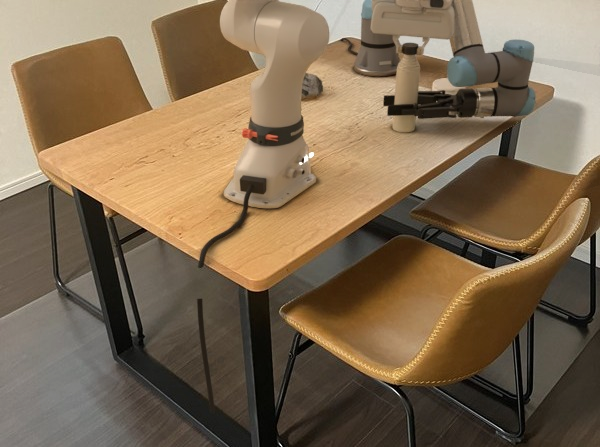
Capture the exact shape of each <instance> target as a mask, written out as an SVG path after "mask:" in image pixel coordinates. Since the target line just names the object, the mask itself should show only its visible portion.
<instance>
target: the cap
mask: <svg viewBox="0 0 600 447" xmlns="http://www.w3.org/2000/svg"><path fill="white" fill-rule="evenodd" d="M402 45H403V47H402V53H401V54H403V55H404V54H405V55H415V56H417V48H418V46H419V44H418V43H416V42H404V43H402Z"/></svg>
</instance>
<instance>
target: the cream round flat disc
mask: <svg viewBox="0 0 600 447" xmlns="http://www.w3.org/2000/svg"><path fill="white" fill-rule="evenodd" d="M459 89H467V87H455V86H453V85H452V84H451V83H450V82H449V80H448V77H441V78H437V79H435V80H434V81H433V82H432V87H431V91H440V90H445V94H451V95H456V94H457V92H458V90H459Z"/></svg>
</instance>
